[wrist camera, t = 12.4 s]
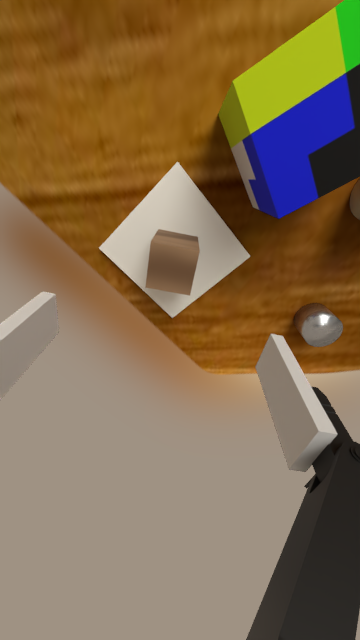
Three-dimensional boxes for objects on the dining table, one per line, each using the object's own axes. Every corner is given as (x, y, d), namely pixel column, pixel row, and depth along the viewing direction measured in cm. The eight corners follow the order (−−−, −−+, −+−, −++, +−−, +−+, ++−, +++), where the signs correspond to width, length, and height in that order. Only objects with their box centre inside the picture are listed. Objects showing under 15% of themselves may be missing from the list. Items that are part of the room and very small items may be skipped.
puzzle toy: (252, 206, 29) (278, 218, 21) (217, 114, 25) (232, 80, 16) (339, 158, 27) (410, 149, 18) (316, 45, 22) (396, -38, 14)
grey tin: (302, 300, 35) (314, 313, 32) (334, 306, 36) (350, 320, 32) (288, 328, 38) (298, 343, 34) (318, 333, 38) (331, 349, 35)
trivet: (100, 246, 32) (98, 248, 32) (177, 162, 27) (177, 161, 27) (172, 315, 37) (172, 318, 37) (249, 254, 32) (250, 256, 32)
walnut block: (158, 229, 30) (150, 241, 24) (197, 236, 30) (199, 251, 24) (153, 267, 33) (145, 287, 27) (189, 274, 33) (189, 295, 27)
